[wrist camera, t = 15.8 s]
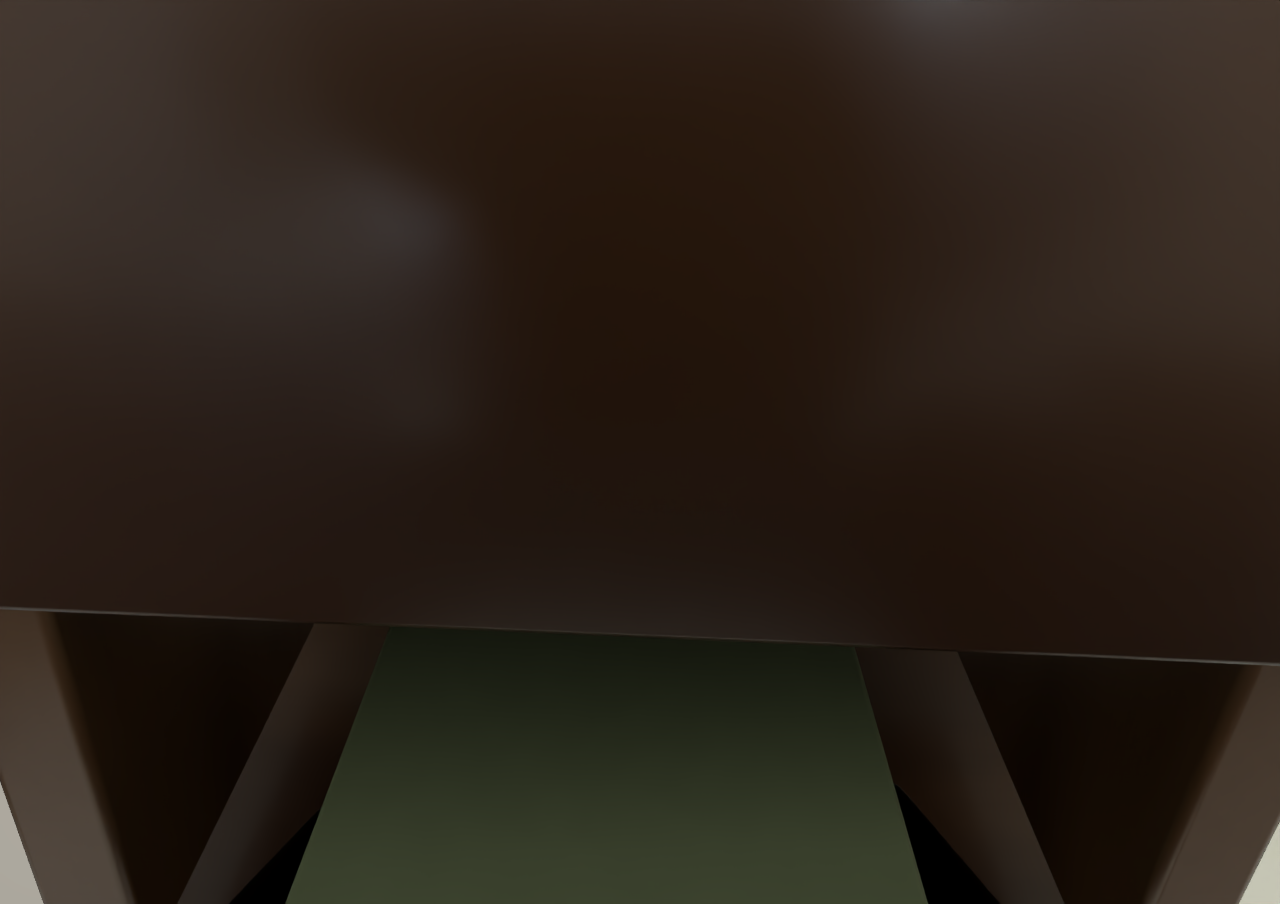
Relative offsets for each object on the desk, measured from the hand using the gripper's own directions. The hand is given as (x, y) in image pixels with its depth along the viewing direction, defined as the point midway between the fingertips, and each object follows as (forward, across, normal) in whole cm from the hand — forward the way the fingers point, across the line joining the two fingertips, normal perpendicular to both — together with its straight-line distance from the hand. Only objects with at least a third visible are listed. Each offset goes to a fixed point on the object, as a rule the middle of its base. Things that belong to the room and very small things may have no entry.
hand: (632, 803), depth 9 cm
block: (+1, 0, 0) cm, 1 cm away
